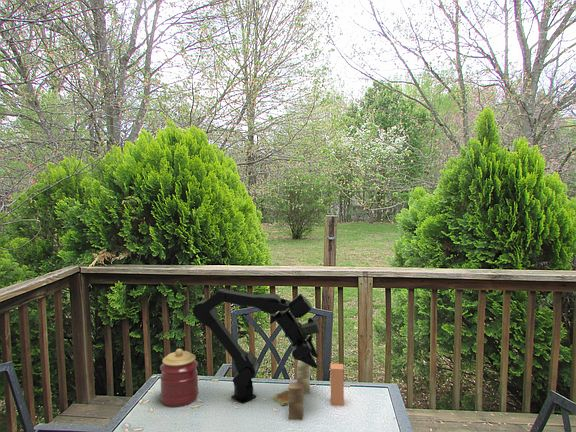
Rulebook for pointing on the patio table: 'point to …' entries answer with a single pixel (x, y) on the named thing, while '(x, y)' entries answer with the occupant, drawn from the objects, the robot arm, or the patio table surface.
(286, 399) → the shard
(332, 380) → the salmon orange block
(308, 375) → the birch block
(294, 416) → the walnut block
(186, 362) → the canister
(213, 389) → the patio table surface
